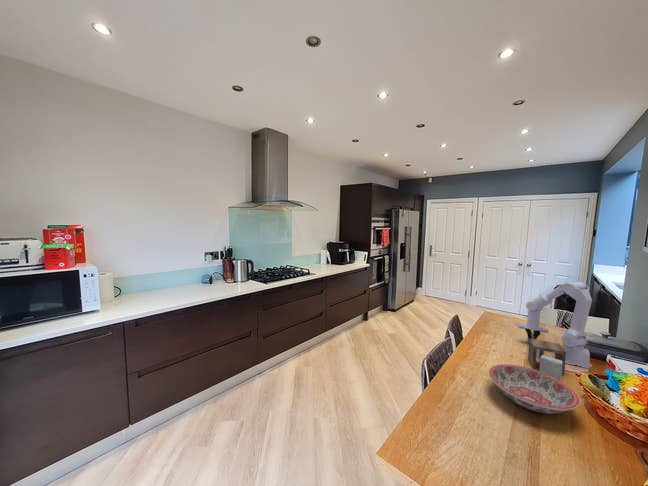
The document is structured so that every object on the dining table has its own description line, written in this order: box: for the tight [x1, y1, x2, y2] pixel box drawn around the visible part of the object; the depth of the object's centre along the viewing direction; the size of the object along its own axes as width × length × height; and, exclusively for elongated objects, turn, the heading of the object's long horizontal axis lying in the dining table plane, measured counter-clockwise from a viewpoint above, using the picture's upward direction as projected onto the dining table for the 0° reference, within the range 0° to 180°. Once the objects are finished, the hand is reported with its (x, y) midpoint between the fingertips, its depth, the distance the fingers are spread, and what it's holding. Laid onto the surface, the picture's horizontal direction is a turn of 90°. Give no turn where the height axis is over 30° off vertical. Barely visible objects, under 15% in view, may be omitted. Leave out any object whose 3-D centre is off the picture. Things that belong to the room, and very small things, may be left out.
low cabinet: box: [527, 338, 566, 376], centre depth 131 cm, size 12×10×12 cm
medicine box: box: [538, 354, 563, 382], centre depth 123 cm, size 8×4×9 cm, turn 42°
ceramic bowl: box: [488, 363, 581, 415], centre depth 105 cm, size 29×29×8 cm
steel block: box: [527, 332, 544, 360], centre depth 150 cm, size 2×27×6 cm, turn 151°
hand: (531, 341), depth 156 cm, fingers closed on steel block, 2 cm apart
